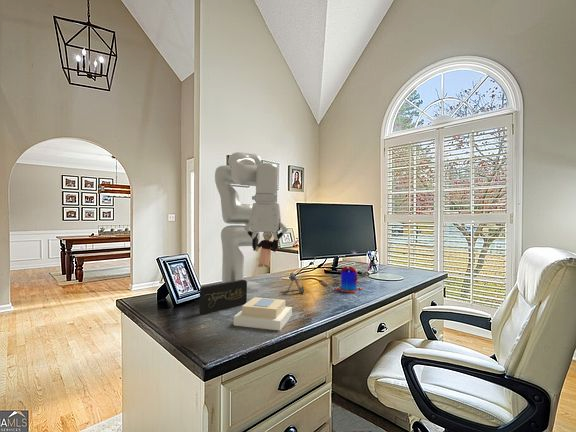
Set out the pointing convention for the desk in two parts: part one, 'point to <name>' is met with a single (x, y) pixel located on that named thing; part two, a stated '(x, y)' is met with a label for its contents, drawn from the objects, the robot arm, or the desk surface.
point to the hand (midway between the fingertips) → (265, 250)
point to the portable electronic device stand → (292, 277)
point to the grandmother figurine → (265, 250)
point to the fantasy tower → (348, 280)
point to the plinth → (263, 320)
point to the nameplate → (222, 296)
